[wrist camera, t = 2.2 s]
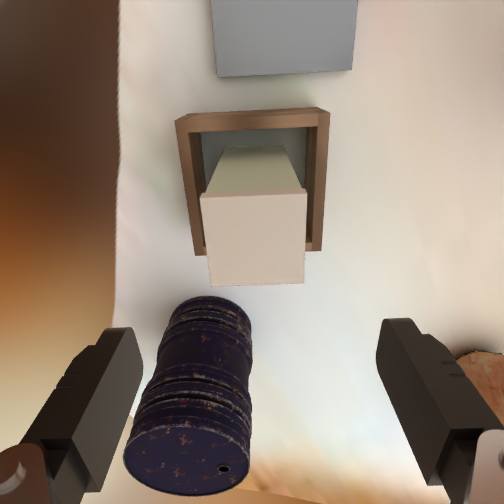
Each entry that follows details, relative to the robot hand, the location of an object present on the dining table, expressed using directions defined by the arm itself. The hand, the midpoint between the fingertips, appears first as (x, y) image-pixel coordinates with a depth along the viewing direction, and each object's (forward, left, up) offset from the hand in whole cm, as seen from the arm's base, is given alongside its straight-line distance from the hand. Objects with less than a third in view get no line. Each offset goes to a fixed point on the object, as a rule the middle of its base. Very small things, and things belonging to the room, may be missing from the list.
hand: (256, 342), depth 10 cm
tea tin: (0, 0, -21) cm, 21 cm away
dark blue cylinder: (+6, +18, -21) cm, 28 cm away
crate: (0, 0, -21) cm, 21 cm away
